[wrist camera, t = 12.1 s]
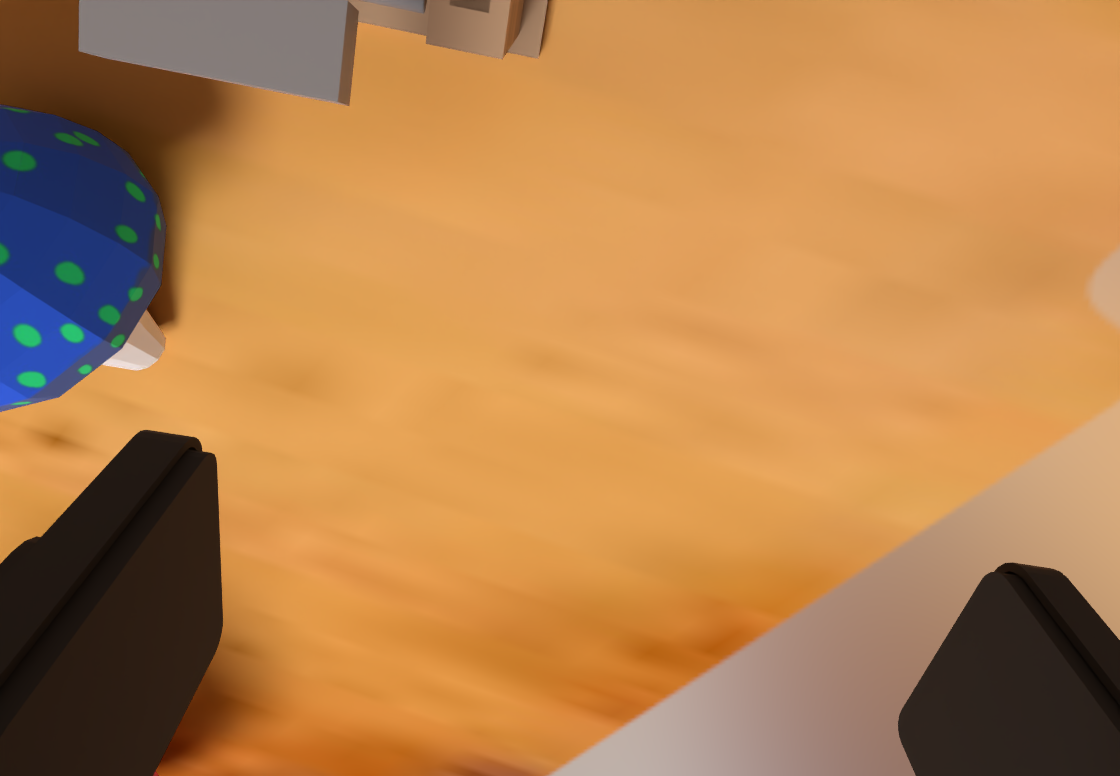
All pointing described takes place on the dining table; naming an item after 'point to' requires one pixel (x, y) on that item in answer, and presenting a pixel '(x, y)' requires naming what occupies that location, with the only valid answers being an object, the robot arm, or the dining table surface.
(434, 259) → the dining table surface
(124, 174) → the blue green-spotted dome
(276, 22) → the trapdoor
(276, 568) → the dining table surface
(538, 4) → the frame
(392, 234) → the dining table surface
